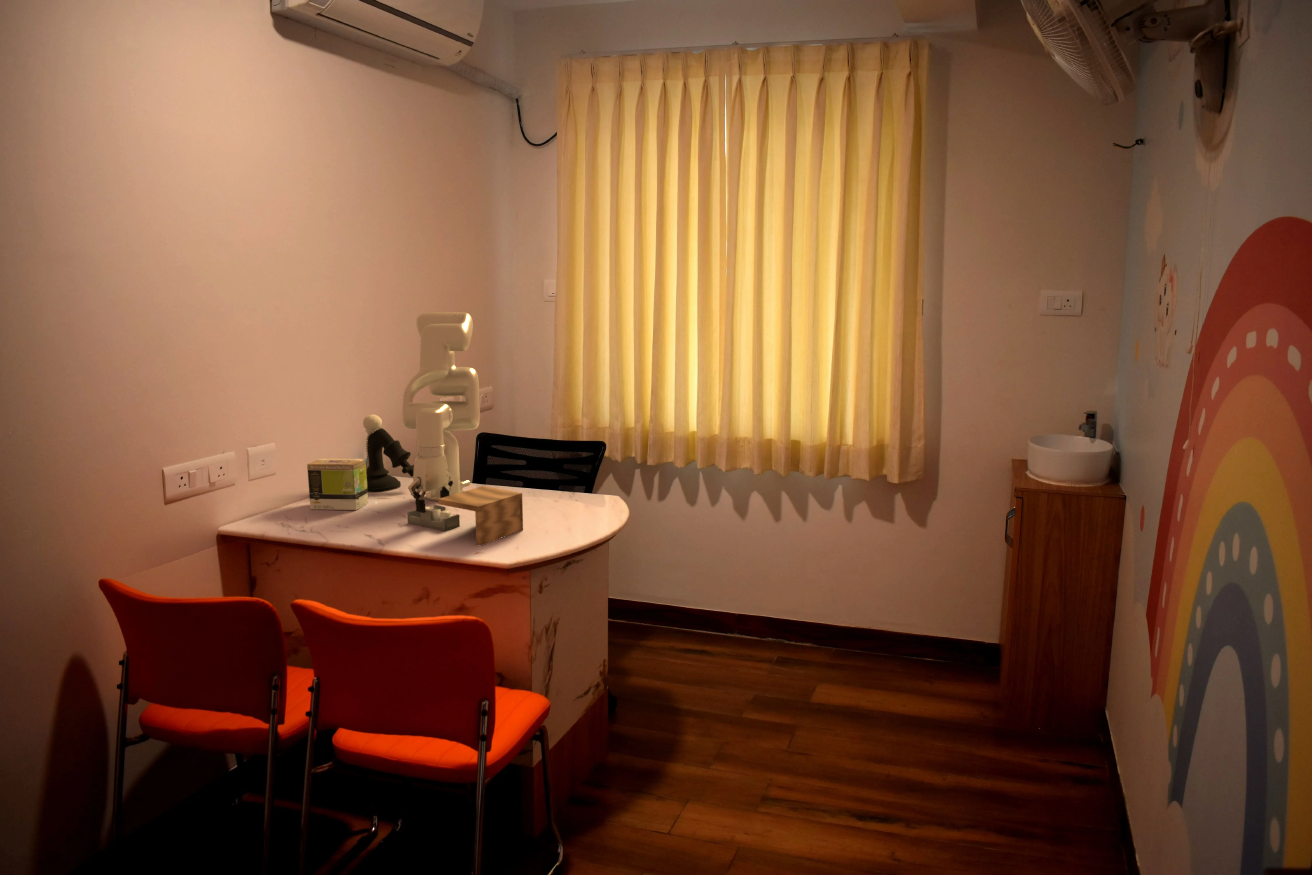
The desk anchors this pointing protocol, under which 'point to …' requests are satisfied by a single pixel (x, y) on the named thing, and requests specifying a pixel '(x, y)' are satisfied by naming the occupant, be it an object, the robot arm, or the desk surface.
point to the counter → (490, 511)
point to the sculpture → (392, 449)
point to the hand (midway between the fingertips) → (433, 507)
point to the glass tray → (431, 522)
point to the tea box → (337, 483)
